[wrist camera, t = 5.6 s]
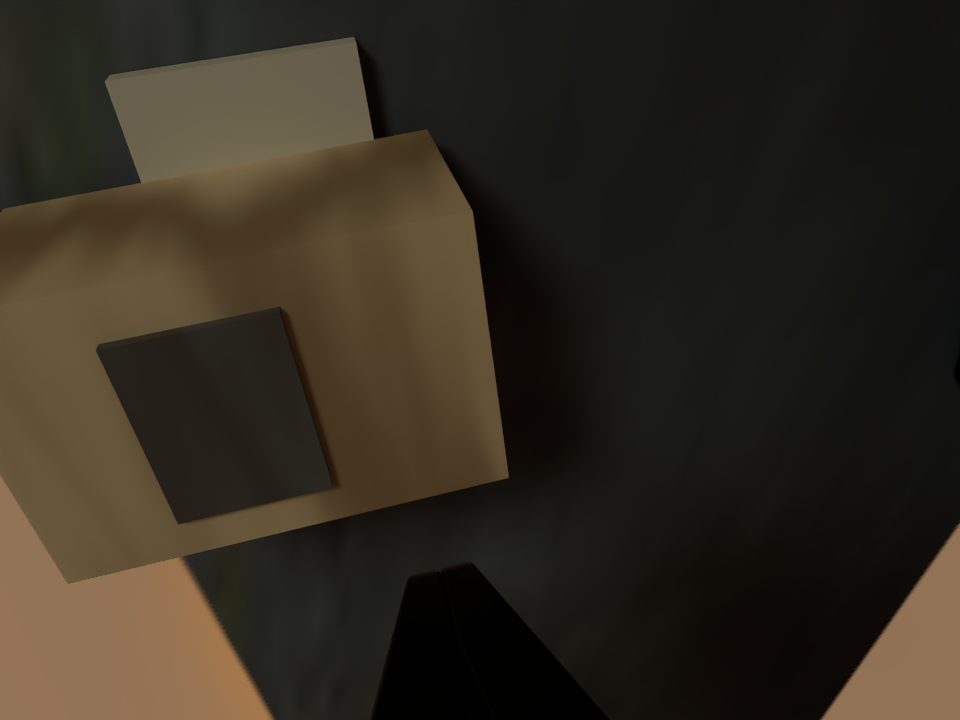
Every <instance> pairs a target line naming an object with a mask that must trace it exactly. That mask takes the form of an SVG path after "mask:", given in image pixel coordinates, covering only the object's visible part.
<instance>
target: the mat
mask: <svg viewBox="0 0 960 720" xmlns="http://www.w3.org/2000/svg"><path fill="white" fill-rule="evenodd" d="M105 83H106V86H107V89H108V92H109V94H110V97H111V100H112V103H113V106H114V108H115V111H116V114H117V117H118V119H119V122H120V125H121V128H122V130H123V133H124V136H125V139H126V141H127V144H128V147H129V150H130V152H131V155H132V158H133V161H134V163H135V166H136V169H137V172H138V174H139V177H140V180H141V183H144V182H149V181H155V180H160V179H165V178H171V177H176V176H181V175H187V174H192V173H198V172H203V171H208V170H214V169H219V168H224V167H230V166H235V165H240V164H246V163H251V162H256V161H262V160H267V159H272V158H278V157H283V156H288V155H294V154H299V153H304V152H310V151H315V150H320V149H326V148H331V147H336V146H342V145H347V144H352V143H358V142H363V141H369V140H374V137H373V131H372V126H371V120H370V115H369V110H368V104H367V99H366V93H365V88H364V82H363V77H362V72H361V66H360V61H359V55H358V50H357V44H356V41H355V38H354V37H351V38H344V39H338V40H332V41H325V42H319V43H312V44H306V45H299V46H293V47H287V48H280V49H274V50H267V51H261V52H254V53H248V54H241V55H235V56H229V57H222V58H216V59H209V60H203V61H196V62H190V63H183V64H177V65H171V66H164V67H158V68H151V69H145V70H138V71H132V72H126V73H119V74H113V75H110V76H109V77H108V78H107V79H106V81H105Z"/></svg>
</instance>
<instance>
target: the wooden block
mask: <svg viewBox="0 0 960 720" xmlns="http://www.w3.org/2000/svg"><path fill="white" fill-rule="evenodd" d="M0 475H1V477H2V478H3V480H4V482H5V483H6V485H7V486H8V488H9V490H10V491H11V493H12V495H13V496H14V498H15V499H16V501H17V502H18V504H19V506H20V507H21V509H22V511H23V512H24V514H25V515H26V517H27V519H28V520H29V522H30V524H31V525H32V527H33V528H34V530H35V531H36V533H37V535H38V536H39V538H40V539H41V541H42V543H43V544H44V546H45V548H46V549H47V551H48V553H49V554H50V556H51V557H52V559H53V561H54V562H55V564H56V565H57V567H58V569H59V570H60V572H61V574H62V575H63V577H64V578H65V580H66V581H67V583H68V584H69V583H73V582H77V581H81V580H86V579H89V578H94V577H98V576H102V575H107V574H111V573H115V572H119V571H123V570H127V569H131V568H136V567H140V566H144V565H148V564H152V563H156V562H160V561H165V560H169V559H173V558H177V557H181V556H186V555H190V554H194V553H198V552H202V551H206V550H210V549H215V548H219V547H223V546H227V545H231V544H235V543H240V542H244V541H248V540H252V539H256V538H260V537H265V536H269V535H273V534H277V533H281V532H285V531H289V530H294V529H298V528H302V527H306V526H310V525H314V524H319V523H323V522H327V521H331V520H335V519H339V518H344V517H348V516H352V515H356V514H360V513H364V512H369V511H373V510H377V509H381V508H385V507H389V506H393V505H398V504H402V503H406V502H410V501H414V500H418V499H423V498H427V497H431V496H435V495H439V494H443V493H448V492H452V491H456V490H460V489H464V488H468V487H472V486H477V485H481V484H485V483H489V482H493V481H497V480H502V479H506V478H509V475H508V467H507V460H506V453H505V445H504V438H503V431H502V423H501V416H500V408H499V401H498V394H497V386H496V379H495V372H494V364H493V357H492V350H491V342H490V335H489V328H488V320H487V313H486V305H485V298H484V291H483V283H482V276H481V269H480V261H479V254H478V247H477V239H476V232H475V224H474V217H473V211H472V209H471V207H470V206H469V204H468V202H467V200H466V198H465V197H464V195H463V193H462V191H461V189H460V188H459V186H458V184H457V182H456V180H455V179H454V177H453V175H452V173H451V172H450V170H449V168H448V166H447V164H446V163H445V161H444V159H443V157H442V155H441V154H440V152H439V150H438V148H437V146H436V145H435V143H434V141H433V139H432V137H431V136H430V134H429V132H428V130H422V131H417V132H411V133H406V134H401V135H395V136H390V137H385V138H379V139H374V140H369V141H363V142H358V143H352V144H347V145H342V146H336V147H331V148H326V149H320V150H315V151H310V152H304V153H299V154H294V155H288V156H283V157H278V158H272V159H267V160H262V161H256V162H251V163H246V164H240V165H235V166H230V167H224V168H219V169H214V170H208V171H203V172H198V173H192V174H187V175H181V176H176V177H171V178H165V179H160V180H155V181H149V182H144V183H139V184H133V185H128V186H123V187H117V188H112V189H107V190H101V191H96V192H91V193H85V194H80V195H75V196H69V197H64V198H59V199H53V200H48V201H43V202H37V203H32V204H27V205H21V206H16V207H10V208H5V209H3V211H2V212H1V213H0Z"/></svg>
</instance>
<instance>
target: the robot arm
mask: <svg viewBox="0 0 960 720" xmlns="http://www.w3.org/2000/svg"><path fill="white" fill-rule="evenodd" d="M956 376H957V378H958V379H959V380H960V359H959V363H958V367H957V370H956ZM441 577H442V578H441ZM469 708H470V709H469ZM470 713H471V714H470ZM471 717H472V719H471ZM370 720H609V719H608V718H607V716H606V715H605V714H604V713H603V712H602V711H601V710H600V708H599V707H598V706H597V705H596V704H595V703H594V701H593V700H592V699H591V698H590V697H589V696H588V695H587V693H586V692H585V691H584V690H583V689H582V688H581V687H580V685H579V684H578V683H577V682H576V681H575V680H574V679H573V677H572V676H571V675H570V674H569V673H568V672H567V671H566V669H565V668H564V667H563V666H562V665H561V664H560V663H559V661H558V660H557V659H556V658H555V657H554V656H553V655H552V653H551V652H550V651H549V650H548V649H547V648H546V647H545V645H544V644H543V643H542V642H541V641H540V640H539V638H538V637H537V636H536V635H535V634H534V633H533V632H532V630H531V629H530V628H529V627H528V626H527V625H526V624H525V622H524V621H523V620H522V619H521V618H520V617H519V616H518V614H517V613H516V612H515V611H514V610H513V609H512V608H511V606H510V605H509V604H508V603H507V602H506V601H505V600H504V598H503V597H502V596H501V595H500V594H499V593H498V592H497V590H496V589H495V588H494V587H493V586H492V585H491V584H490V582H489V581H488V580H487V579H486V578H485V577H484V575H483V574H482V573H481V572H480V571H479V570H478V569H477V567H476V566H475V565H474V564H472V563H471V562H462V563H458V564H454V565H450V566H446V567H444V568H443V569H442V570H441V574H440V572H439V571H438V570H436V569H433V570H429V571H425V572H421V573H417V574H413V575H411V576H410V577H409V578H408V580H407V582H406V586H405V590H404V593H403V597H402V601H401V605H400V609H399V612H398V616H397V620H396V624H395V628H394V631H393V635H392V639H391V643H390V646H389V650H388V654H387V658H386V662H385V665H384V669H383V673H382V677H381V680H380V684H379V688H378V692H377V696H376V699H375V703H374V707H373V711H372V714H371V718H370Z"/></svg>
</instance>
